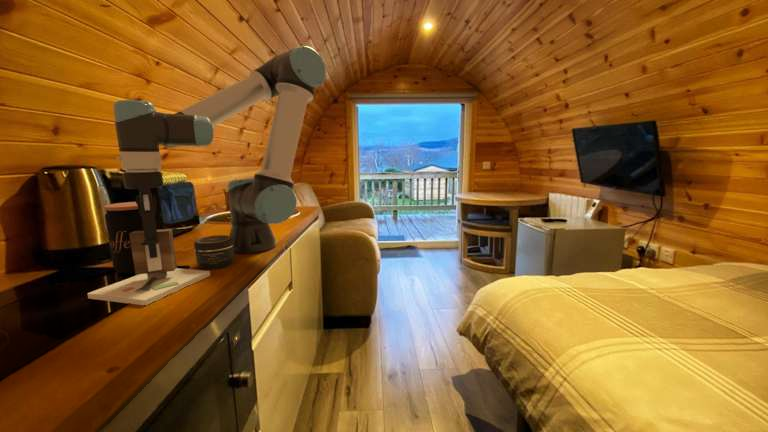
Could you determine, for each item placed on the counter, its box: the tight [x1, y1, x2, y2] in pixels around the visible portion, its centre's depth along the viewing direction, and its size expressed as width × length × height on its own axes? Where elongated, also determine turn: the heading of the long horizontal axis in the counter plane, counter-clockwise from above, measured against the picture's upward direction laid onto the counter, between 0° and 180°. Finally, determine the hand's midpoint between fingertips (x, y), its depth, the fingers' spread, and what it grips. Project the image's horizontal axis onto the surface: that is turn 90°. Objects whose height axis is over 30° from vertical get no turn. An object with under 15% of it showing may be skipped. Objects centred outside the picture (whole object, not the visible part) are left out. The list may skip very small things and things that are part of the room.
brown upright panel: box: [129, 228, 178, 290], centre depth 77 cm, size 11×8×12 cm
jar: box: [193, 234, 235, 271], centre depth 94 cm, size 10×10×8 cm
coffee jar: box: [103, 201, 144, 274], centre depth 92 cm, size 11×11×18 cm
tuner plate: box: [87, 267, 211, 306], centre depth 80 cm, size 18×16×1 cm
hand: (155, 267), depth 81 cm, fingers closed on brown upright panel, 4 cm apart
